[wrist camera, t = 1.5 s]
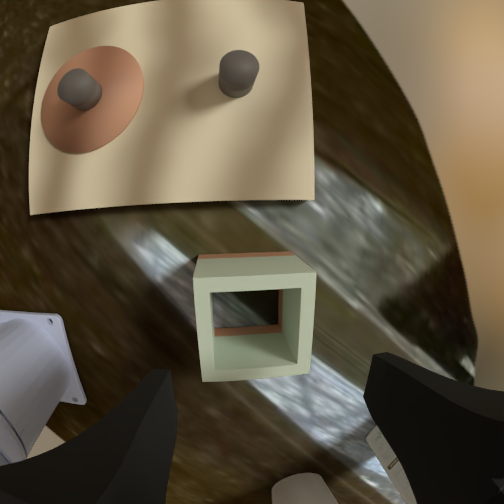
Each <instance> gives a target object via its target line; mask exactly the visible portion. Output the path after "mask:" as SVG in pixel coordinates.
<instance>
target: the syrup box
mask: <svg viewBox="0 0 504 504" xmlns="http://www.w3.org/2000/svg"><path fill="white" fill-rule="evenodd" d="M365 439H366V441H367V443H368V444H369V446H370V448H371V449H372V451H373V452H374V454H375V455H376V457H377V459H378V460H379V462H380V463H381V465H382V466H383V468H384V470H385V471H386V473H387V474H388V476H389V478H390V479H391V481H392V482H393V484H394V485H395V487H396V488H397V490H398V492H399V493H400V495H401V496H402V498H403V499H404V501H405V503H406V504H417V502H416V499H415V497H414V494H413V491H412V489H411V486H410V483H409V481H408V479H407V476H406V474H405V472H404V470H403V468H402V465H401V463H400V462H399V460H398V458H397V456H396V455H395V453H394V452H393V450H392V448H391V447H390V445H389V444H388V442H387V441H386V439H385V437H384V436H383V434H382V433H381V431H380V430H379V428H378V426H377V425H376V426H375V427H374V428H373V429H372V430H371V432H370V433H369V434H368V435H367V437H366V438H365Z"/></svg>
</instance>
